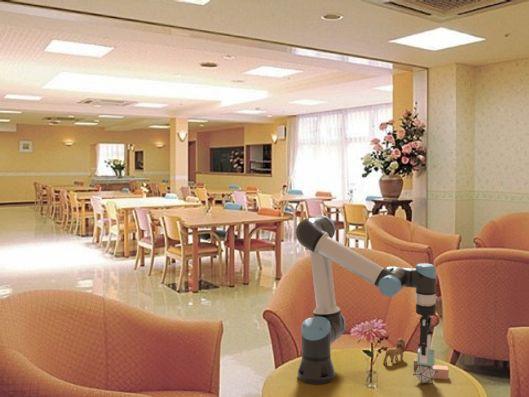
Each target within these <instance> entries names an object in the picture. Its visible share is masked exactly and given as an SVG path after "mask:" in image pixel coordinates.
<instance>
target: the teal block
mask: <svg viewBox="0 0 529 397" xmlns="http://www.w3.org/2000/svg"><path fill="white" fill-rule="evenodd" d="M417 357H418V362H417V364H419V365H427V366H434V359H435V350H434V349H431V350H428V355H427V364H426V363H420V347H419V348H418V349H417Z"/></svg>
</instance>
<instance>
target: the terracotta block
mask: <svg viewBox="0 0 529 397" xmlns="http://www.w3.org/2000/svg"><path fill="white" fill-rule="evenodd" d="M432 368H433V369H434V370H435V371H438V373H437V372H436V374H435V376H434V378H433V379H442V380H449V377H450V376H449V375H450V374H449V367H448V365H436V364H435V365H434V366H432Z"/></svg>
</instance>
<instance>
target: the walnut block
mask: <svg viewBox="0 0 529 397" xmlns="http://www.w3.org/2000/svg"><path fill="white" fill-rule="evenodd" d="M417 362H418V356H414V358H413V370H414V371H416V370H417V367H418V364H417ZM435 363H436V362H435V358H434V365H436V364H435ZM431 367H432V366H431Z"/></svg>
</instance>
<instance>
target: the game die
mask: <svg viewBox="0 0 529 397" xmlns="http://www.w3.org/2000/svg"><path fill="white" fill-rule="evenodd" d="M436 372H437V373H438V371H435V370H434V369H433V368H432V367H431V366H427V365H419V364H418V367H417V370H415V373H413V374H412V375H413V376H415V377H416V378H417V379H418V380H419V381H420V382H421V386H423V385H424V384H427V383H431V384H434V382H433V381H434V379H435V378H434V376H435V374H436Z"/></svg>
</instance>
